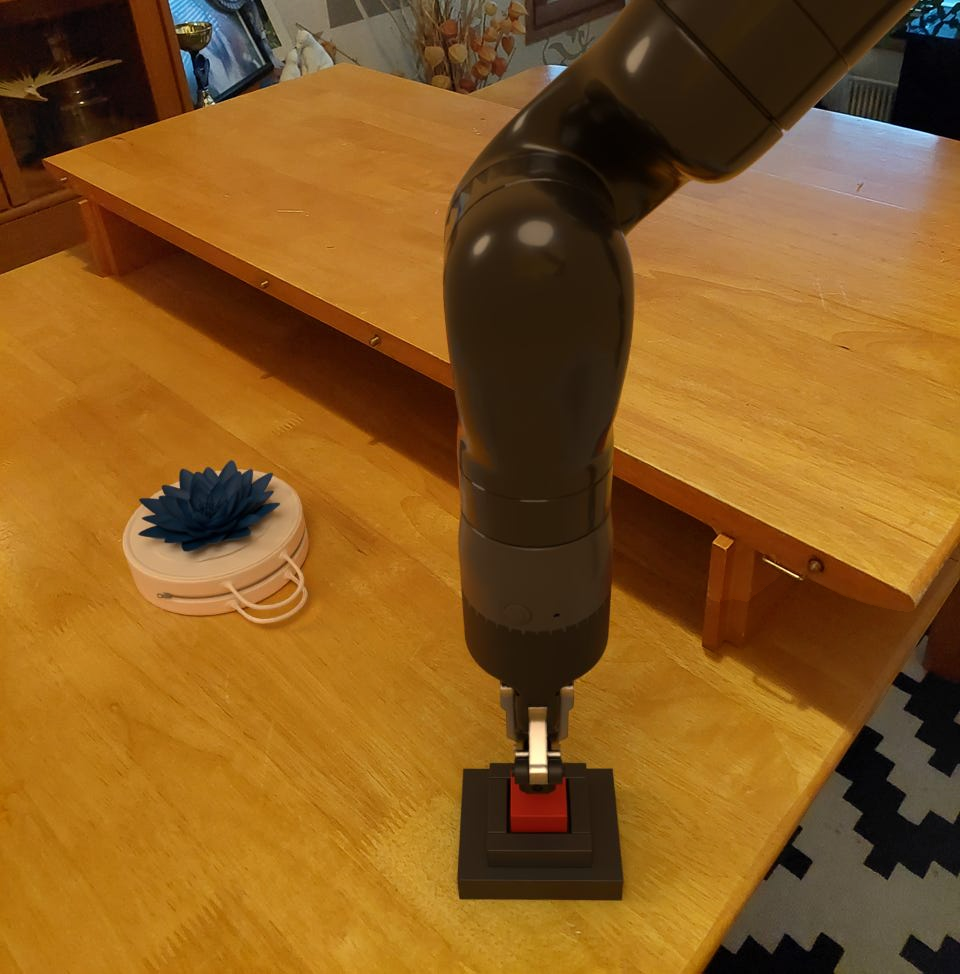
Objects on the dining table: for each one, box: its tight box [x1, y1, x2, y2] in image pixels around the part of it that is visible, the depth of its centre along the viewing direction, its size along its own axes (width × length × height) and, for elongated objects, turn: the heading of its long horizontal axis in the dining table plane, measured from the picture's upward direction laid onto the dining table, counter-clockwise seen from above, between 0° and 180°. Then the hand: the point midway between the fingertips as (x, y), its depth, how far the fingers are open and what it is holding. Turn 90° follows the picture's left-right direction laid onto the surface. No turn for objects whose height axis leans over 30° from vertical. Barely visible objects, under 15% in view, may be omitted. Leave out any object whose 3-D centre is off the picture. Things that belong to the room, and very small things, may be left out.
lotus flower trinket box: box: [121, 459, 310, 625], centre depth 81 cm, size 7×16×20 cm
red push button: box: [456, 762, 625, 901], centre depth 59 cm, size 10×8×4 cm
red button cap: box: [511, 774, 567, 832], centre depth 57 cm, size 3×3×2 cm
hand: (537, 781), depth 56 cm, fingers closed
